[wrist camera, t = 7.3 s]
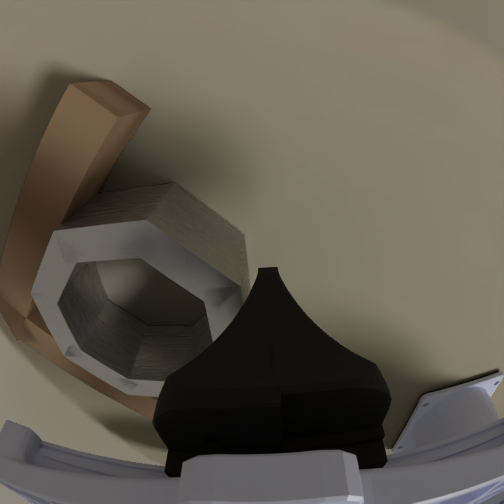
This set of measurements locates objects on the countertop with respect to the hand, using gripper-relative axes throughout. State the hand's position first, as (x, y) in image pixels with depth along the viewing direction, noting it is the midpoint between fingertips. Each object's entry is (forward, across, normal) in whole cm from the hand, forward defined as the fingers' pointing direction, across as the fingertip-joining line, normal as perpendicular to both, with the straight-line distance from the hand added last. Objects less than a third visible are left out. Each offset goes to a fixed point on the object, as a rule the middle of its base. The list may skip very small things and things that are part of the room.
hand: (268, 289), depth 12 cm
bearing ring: (+1, +5, 0) cm, 5 cm away
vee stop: (+1, +8, 0) cm, 8 cm away
